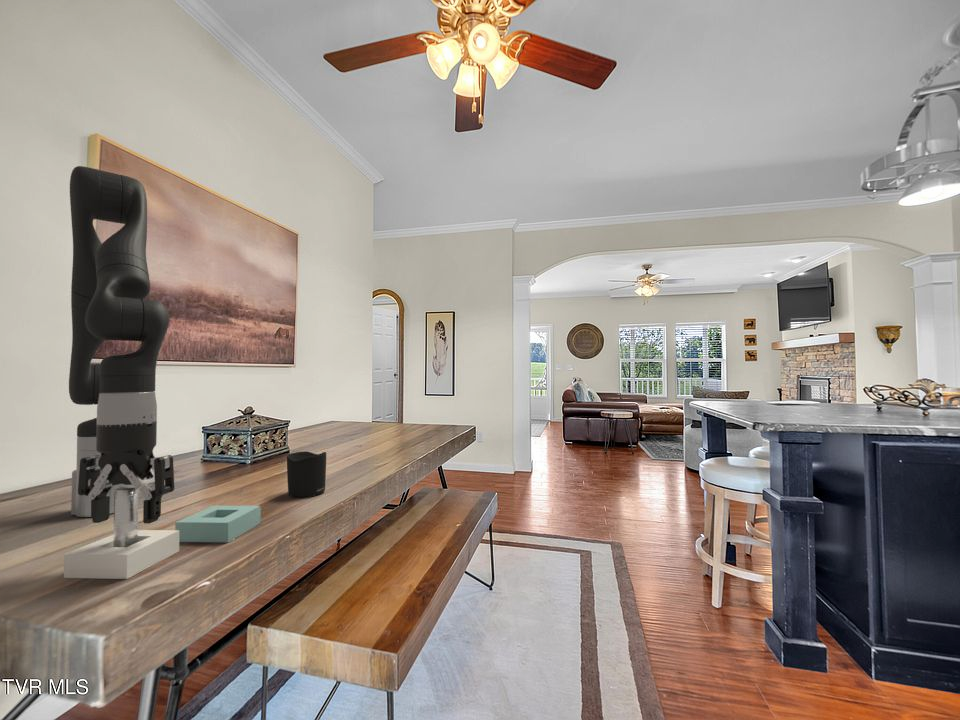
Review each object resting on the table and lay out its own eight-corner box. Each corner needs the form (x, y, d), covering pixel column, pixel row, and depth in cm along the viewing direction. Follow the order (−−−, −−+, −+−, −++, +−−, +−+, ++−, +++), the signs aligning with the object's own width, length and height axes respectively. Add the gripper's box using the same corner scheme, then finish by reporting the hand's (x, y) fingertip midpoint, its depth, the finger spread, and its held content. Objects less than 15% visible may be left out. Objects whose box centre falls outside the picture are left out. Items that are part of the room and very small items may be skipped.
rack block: (175, 541, 77) (175, 522, 77) (213, 522, 87) (213, 505, 87) (228, 542, 76) (228, 522, 77) (260, 523, 86) (260, 505, 87)
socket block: (63, 577, 64) (64, 554, 64) (124, 550, 74) (124, 529, 74) (126, 578, 63) (127, 554, 63) (179, 551, 73) (179, 530, 73)
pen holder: (291, 501, 102) (291, 459, 102) (282, 492, 109) (283, 453, 110) (331, 494, 107) (331, 454, 108) (320, 486, 115) (320, 449, 115)
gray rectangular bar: (107, 567, 67) (109, 490, 67) (124, 559, 70) (126, 485, 70) (125, 568, 67) (127, 490, 67) (142, 559, 70) (143, 485, 70)
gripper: (62, 423, 66) (60, 529, 65) (149, 422, 65) (148, 530, 64) (108, 418, 73) (106, 514, 73) (186, 417, 72) (185, 514, 72)
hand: (126, 521), depth 68 cm, fingers open, 8 cm apart
